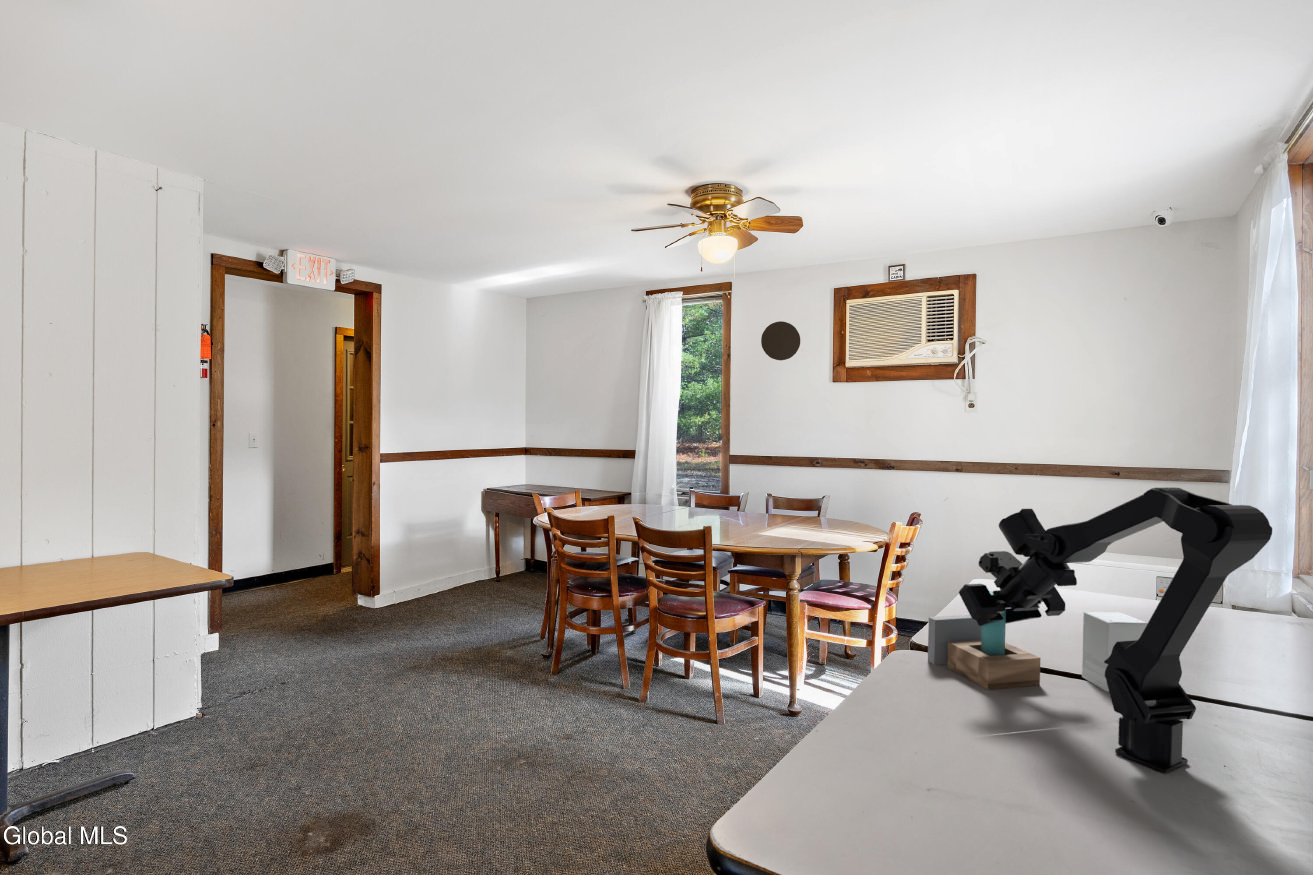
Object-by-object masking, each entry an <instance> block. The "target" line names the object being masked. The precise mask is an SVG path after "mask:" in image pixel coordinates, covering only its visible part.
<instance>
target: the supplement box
mask: <svg viewBox="0 0 1313 875" xmlns="http://www.w3.org/2000/svg"><path fill="white" fill-rule="evenodd" d="M1082 621H1083V625H1082V632H1083V633H1082V662H1081V666H1082V667H1081V669H1082V670H1081V678H1083V679H1085V680H1086V681H1088V682H1089V683H1090V684H1093V685H1095V686H1097V687H1098V688H1099V689H1101V690H1103V691H1105V692H1109V689H1108V685H1107V681H1106V678H1105V669H1106V667H1107V665H1108V664H1105V663H1104V661H1105V660H1107V659H1108V658H1109V657H1110V655H1111V653H1112V649H1113V646H1114V645H1115V644H1116V642H1120V641H1133V640H1138V639H1139V638H1140V636H1141V634H1142V633H1143V631H1144V629H1145V627H1146V625H1147V624H1148V622H1147V621H1143V620H1140V619H1139V618H1135V617H1133V616H1131V615H1128V614H1126V613H1123V612H1120V611H1119V612H1116V611H1109V612H1108V611H1083V620H1082Z"/></svg>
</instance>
